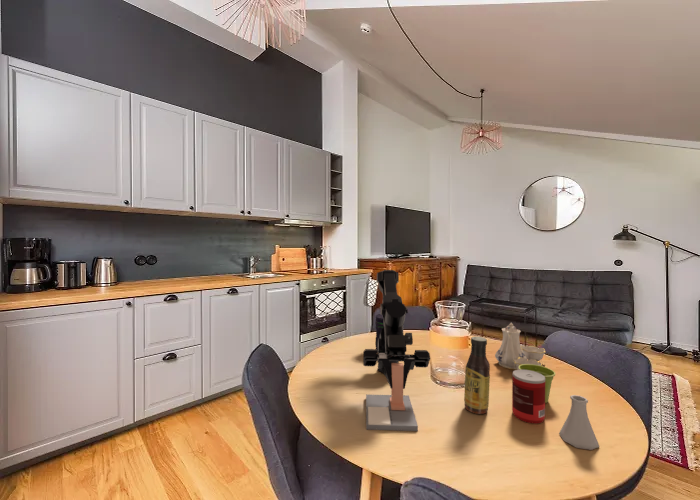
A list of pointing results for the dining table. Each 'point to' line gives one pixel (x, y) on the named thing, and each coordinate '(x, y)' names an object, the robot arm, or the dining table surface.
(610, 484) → the dining table surface
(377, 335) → the storage jar
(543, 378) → the canned food
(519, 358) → the chinaware
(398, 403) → the stub
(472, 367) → the sauce bottle
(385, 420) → the ticket board
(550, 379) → the plant pot
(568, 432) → the flask
